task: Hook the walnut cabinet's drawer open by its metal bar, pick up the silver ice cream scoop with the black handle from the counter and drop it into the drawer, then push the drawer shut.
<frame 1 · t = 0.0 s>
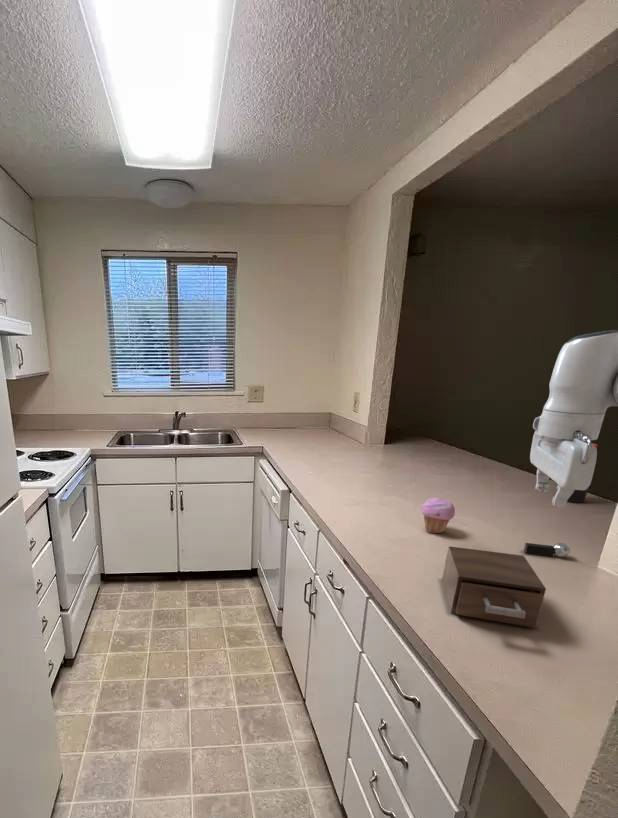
hand: (548, 498, 84), 24 cm above the countertop, tool pointing down, fingers open, 8 cm apart
cupcake: (434, 531, 128), on the countertop
scoop: (543, 554, 113), on the countertop
bottle: (571, 500, 152), on the countertop
cabinet: (484, 601, 93), on the countertop
drawer: (493, 594, 87), point 4 cm above the countertop, slide at 0.5 cm
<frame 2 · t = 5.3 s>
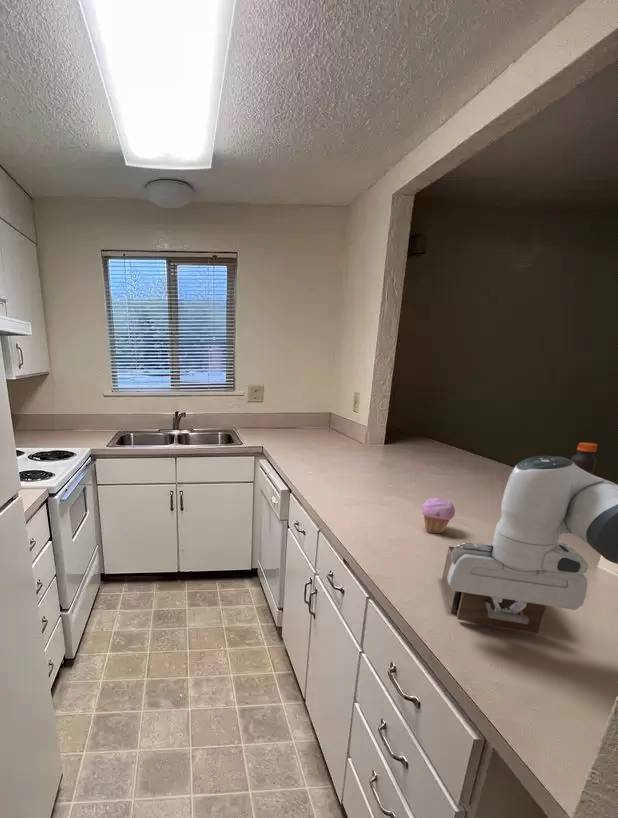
hand: (503, 617, 80), 4 cm above the countertop, tool pointing down, fingers closed, pressing on drawer
drawer: (495, 599, 86), point 4 cm above the countertop, slide at 2.3 cm, touching gripper
everything else where it was.
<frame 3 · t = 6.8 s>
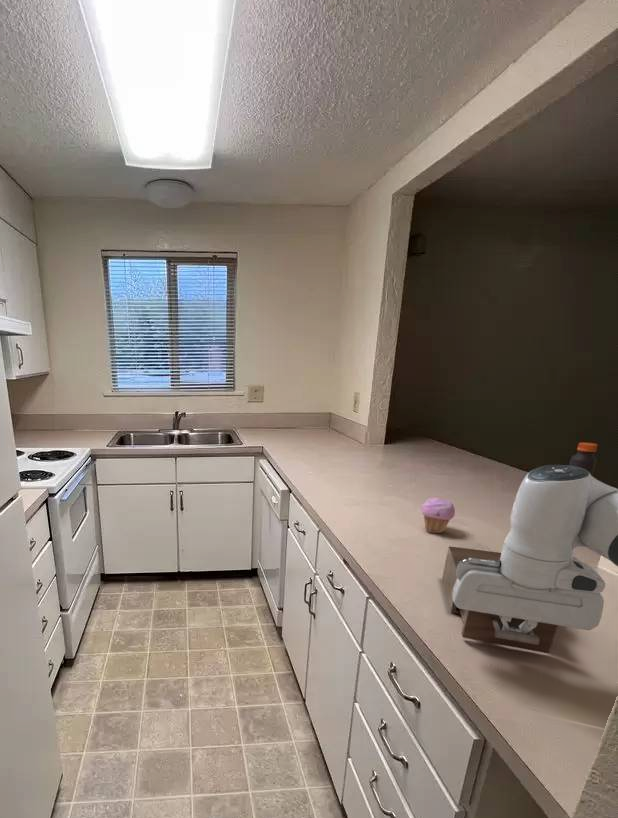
hand: (512, 637, 74), 4 cm above the countertop, tool pointing down, fingers closed, pressing on drawer
drawer: (502, 615, 80), point 4 cm above the countertop, slide at 8.3 cm, touching gripper
everything else where it was.
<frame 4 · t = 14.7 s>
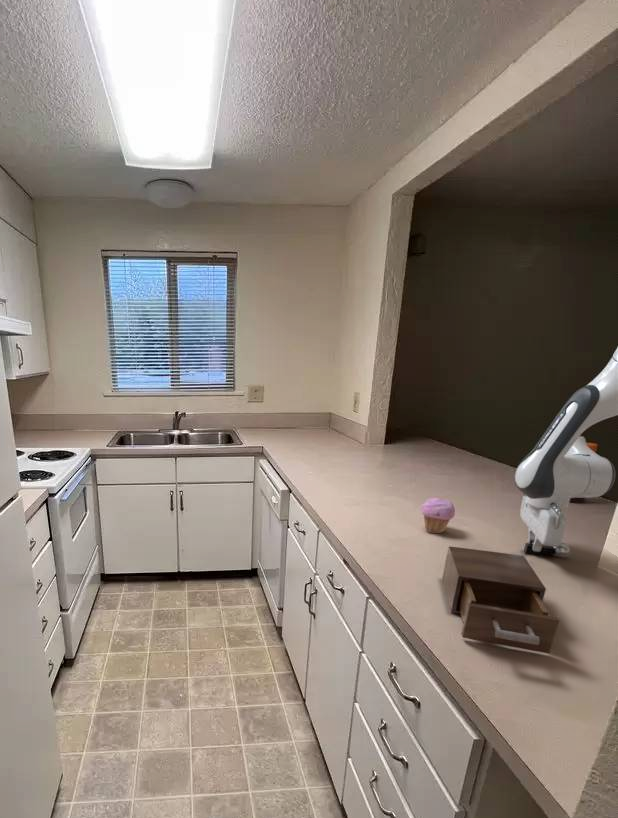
hand: (533, 547, 113), 2 cm above the countertop, tool pointing down, fingers closed on scoop, 2 cm apart
scoop: (543, 554, 113), on the countertop, touching gripper
drawer: (502, 615, 80), point 4 cm above the countertop, slide at 8.3 cm
everything else where it was.
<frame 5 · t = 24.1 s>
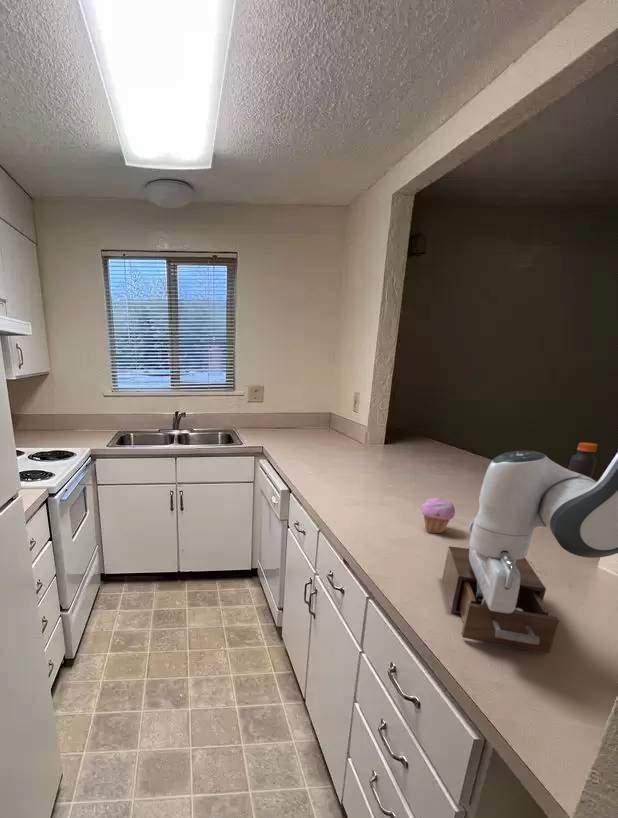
hand: (483, 606, 82), 5 cm above the countertop, tool pointing down, fingers closed
scoop: (493, 620, 83), point 2 cm above the countertop, touching drawer
drawer: (502, 615, 80), point 4 cm above the countertop, slide at 8.3 cm, touching scoop
everything else where it was.
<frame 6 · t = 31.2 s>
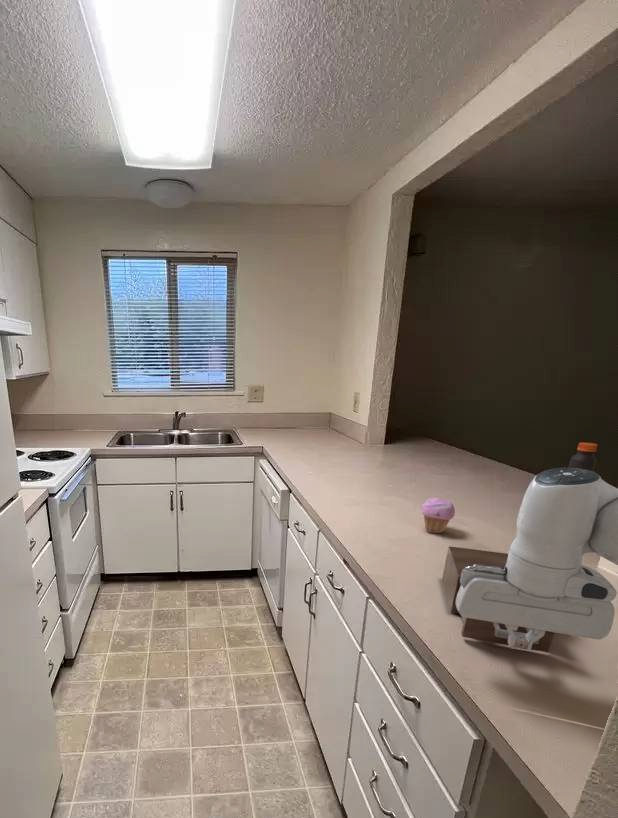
hand: (518, 646, 72), 5 cm above the countertop, tool pointing down, fingers closed, pressing on drawer
drawer: (502, 615, 80), point 4 cm above the countertop, slide at 8.1 cm, touching gripper, scoop
everything else where it was.
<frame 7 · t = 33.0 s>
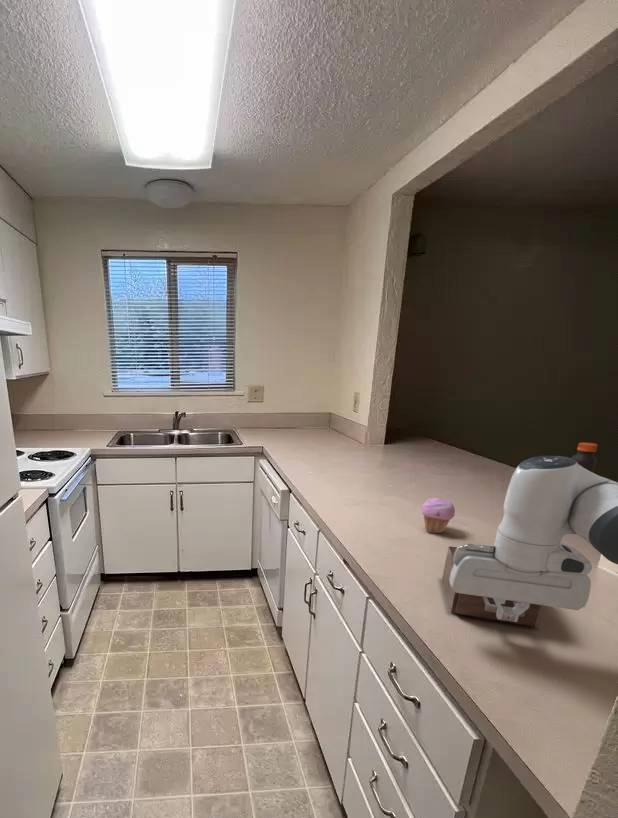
hand: (506, 619, 79), 5 cm above the countertop, tool pointing down, fingers closed, pressing on drawer
scoop: (484, 598, 90), point 2 cm above the countertop, touching drawer
drawer: (492, 593, 88), point 4 cm above the countertop, slide at 0.0 cm, touching cabinet, gripper, scoop
everything else where it was.
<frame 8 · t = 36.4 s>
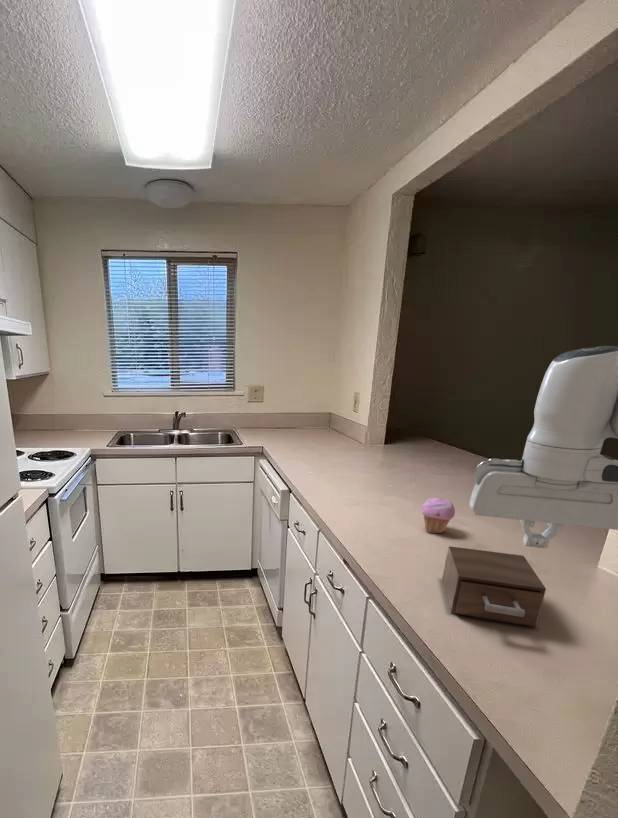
hand: (534, 546, 70), 21 cm above the countertop, tool pointing down, fingers closed
drawer: (492, 593, 88), point 4 cm above the countertop, slide at 0.0 cm, touching cabinet, scoop
everything else where it was.
at the end: drawer pulled out 8.8 cm at the most during the clip, back to where it started at the end; scoop inside the target area in the cabinet (2.0 cm from its centre), point 2.0 cm above the cabinet's base; drawer slide at 0.0 cm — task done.
